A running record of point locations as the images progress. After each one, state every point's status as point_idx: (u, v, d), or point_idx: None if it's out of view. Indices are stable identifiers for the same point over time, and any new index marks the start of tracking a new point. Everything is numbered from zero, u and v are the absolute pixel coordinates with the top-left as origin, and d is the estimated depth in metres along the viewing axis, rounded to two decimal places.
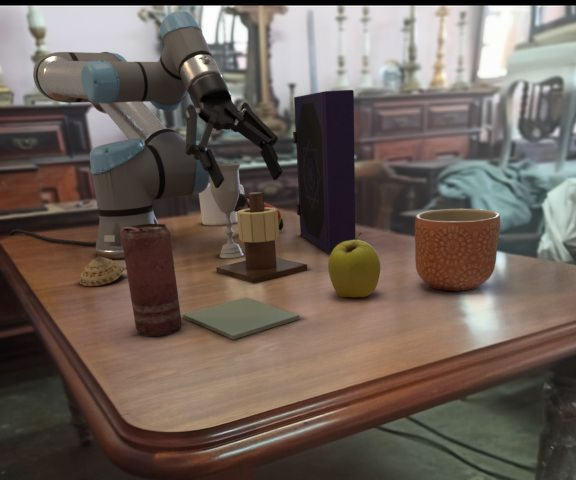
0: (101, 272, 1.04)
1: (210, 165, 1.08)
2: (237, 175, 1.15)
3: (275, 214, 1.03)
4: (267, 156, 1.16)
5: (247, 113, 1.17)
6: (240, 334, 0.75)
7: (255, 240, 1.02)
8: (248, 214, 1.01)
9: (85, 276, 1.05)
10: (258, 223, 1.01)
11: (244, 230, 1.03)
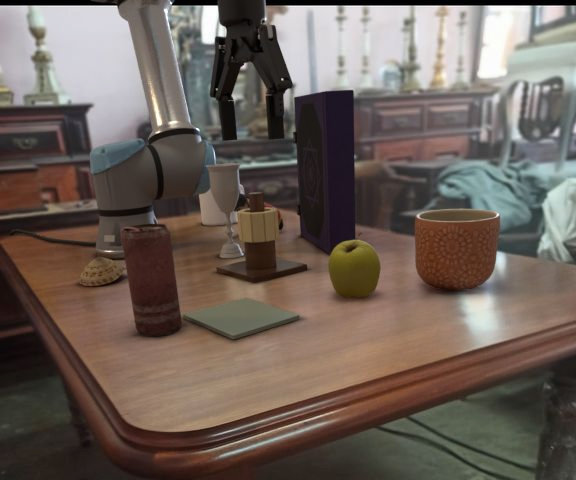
0: (101, 272, 1.04)
1: None
2: (237, 175, 1.15)
3: (275, 214, 1.03)
4: None
5: None
6: (240, 334, 0.75)
7: (255, 240, 1.02)
8: (248, 214, 1.01)
9: (85, 276, 1.05)
10: (258, 223, 1.01)
11: (244, 230, 1.03)
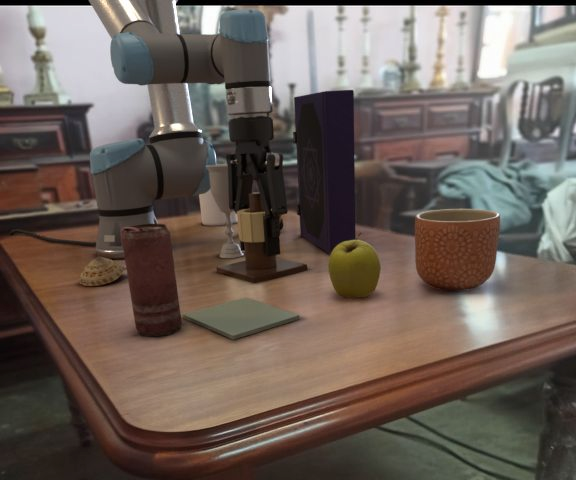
0: (101, 272, 1.04)
1: None
2: None
3: None
4: None
5: None
6: (240, 334, 0.75)
7: (255, 240, 1.02)
8: (248, 214, 1.01)
9: (85, 276, 1.05)
10: (258, 223, 1.01)
11: (244, 230, 1.03)
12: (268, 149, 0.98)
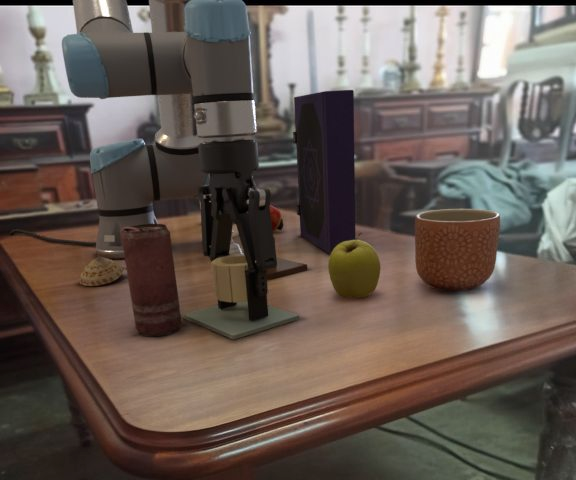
0: (101, 272, 1.04)
1: None
2: None
3: None
4: None
5: None
6: (240, 334, 0.75)
7: (235, 299, 0.78)
8: (225, 266, 0.77)
9: (85, 276, 1.05)
10: (238, 278, 0.77)
11: (221, 286, 0.79)
12: (251, 183, 0.74)
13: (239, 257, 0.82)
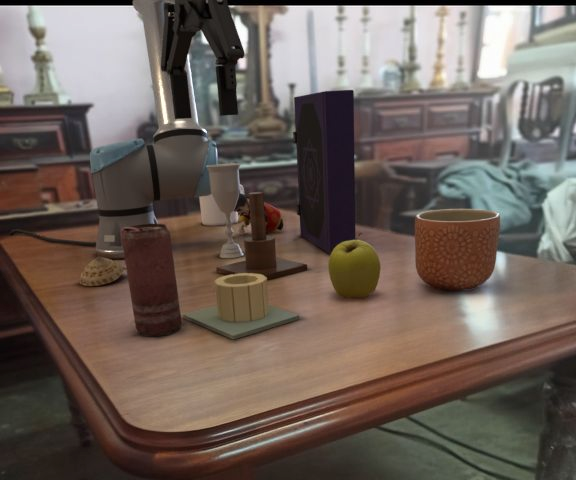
0: (101, 272, 1.04)
1: None
2: (237, 175, 1.15)
3: (263, 285, 0.80)
4: None
5: None
6: (240, 334, 0.75)
7: (238, 319, 0.79)
8: (228, 287, 0.78)
9: (85, 276, 1.05)
10: (241, 298, 0.78)
11: (223, 306, 0.79)
12: None
13: (241, 276, 0.83)
